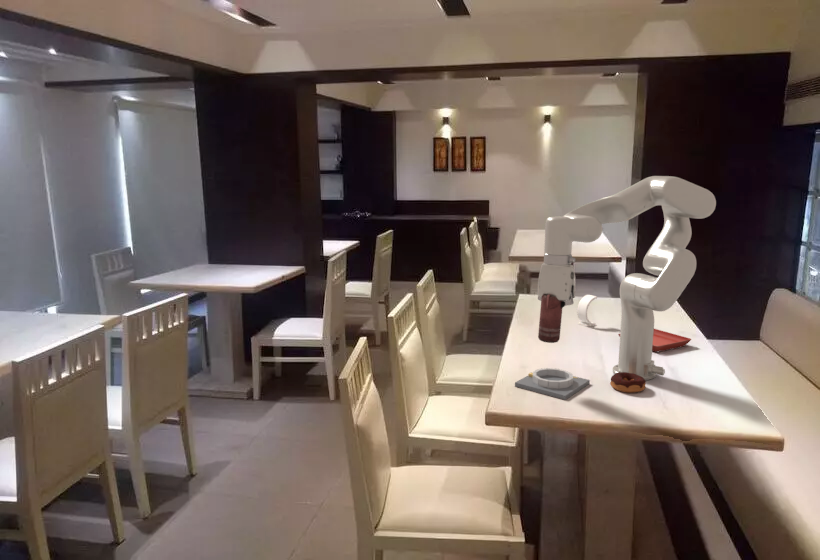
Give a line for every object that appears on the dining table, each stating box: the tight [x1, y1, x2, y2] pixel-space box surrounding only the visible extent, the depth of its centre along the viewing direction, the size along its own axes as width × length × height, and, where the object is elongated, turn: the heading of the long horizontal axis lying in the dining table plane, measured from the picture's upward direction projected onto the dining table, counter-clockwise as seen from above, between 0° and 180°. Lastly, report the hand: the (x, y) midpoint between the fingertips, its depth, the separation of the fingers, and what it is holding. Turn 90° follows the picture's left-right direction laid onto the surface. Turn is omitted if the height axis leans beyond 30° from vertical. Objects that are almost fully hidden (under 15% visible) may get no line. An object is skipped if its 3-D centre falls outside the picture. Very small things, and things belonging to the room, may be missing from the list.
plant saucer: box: [617, 328, 692, 353], centre depth 214 cm, size 18×18×3 cm
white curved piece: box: [576, 294, 598, 328], centre depth 239 cm, size 5×6×12 cm
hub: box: [514, 367, 591, 401], centre depth 174 cm, size 16×16×3 cm
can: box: [537, 294, 563, 344], centre depth 171 cm, size 6×6×14 cm
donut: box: [609, 372, 647, 394], centre depth 172 cm, size 10×10×4 cm
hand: (554, 322), depth 171 cm, fingers closed
